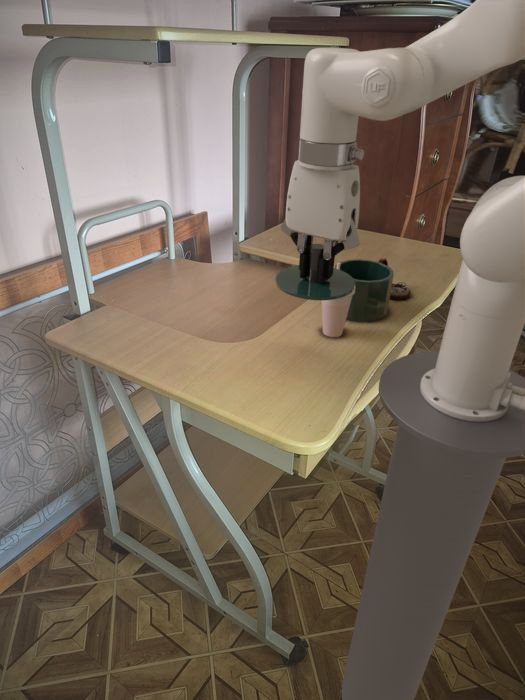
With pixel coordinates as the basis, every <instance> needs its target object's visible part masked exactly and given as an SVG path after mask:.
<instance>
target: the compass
mask: <svg viewBox="0 0 525 700" xmlns="http://www.w3.org/2000/svg"><path fill="white" fill-rule="evenodd" d="M377 262H380V263H382V264H384V265H387V266H389V263H388V260H387V258H380V259H378V261H377ZM411 292H412V291H411V290H410V289H409V288H408V287H407V283H406V282H403V281H400V282H397V283H392V288H391V293H390V299H392V300H405V299H408V298H410V297H411Z"/></svg>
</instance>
